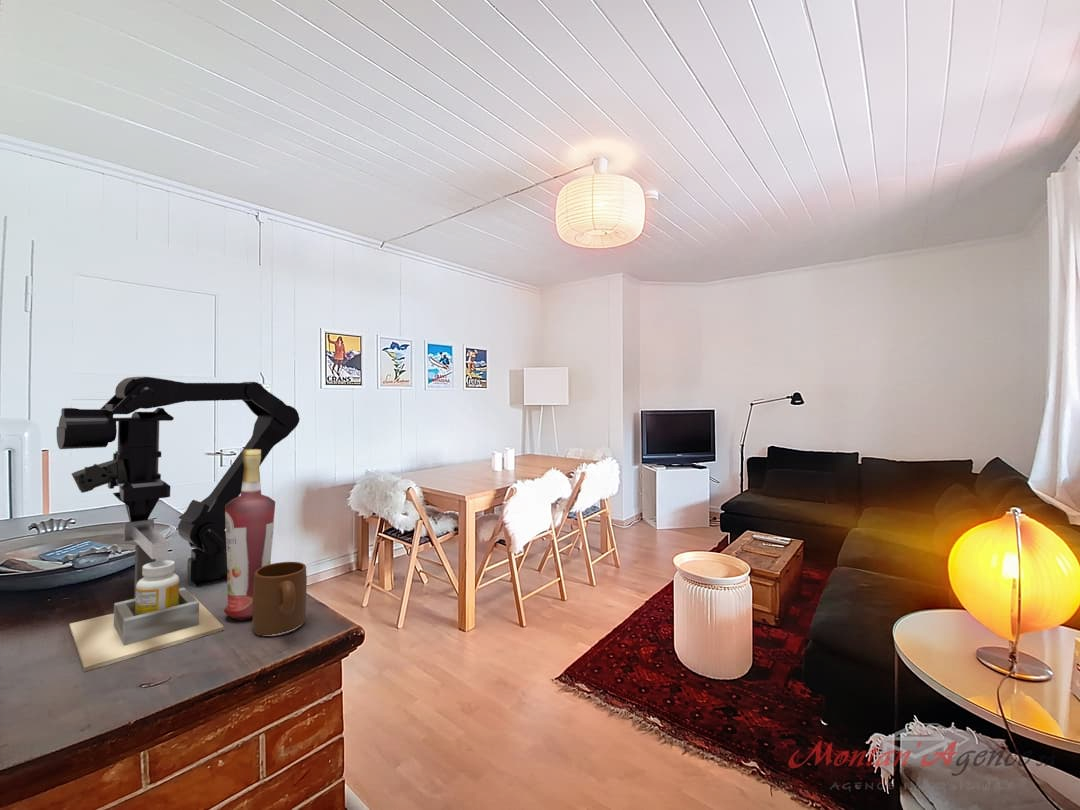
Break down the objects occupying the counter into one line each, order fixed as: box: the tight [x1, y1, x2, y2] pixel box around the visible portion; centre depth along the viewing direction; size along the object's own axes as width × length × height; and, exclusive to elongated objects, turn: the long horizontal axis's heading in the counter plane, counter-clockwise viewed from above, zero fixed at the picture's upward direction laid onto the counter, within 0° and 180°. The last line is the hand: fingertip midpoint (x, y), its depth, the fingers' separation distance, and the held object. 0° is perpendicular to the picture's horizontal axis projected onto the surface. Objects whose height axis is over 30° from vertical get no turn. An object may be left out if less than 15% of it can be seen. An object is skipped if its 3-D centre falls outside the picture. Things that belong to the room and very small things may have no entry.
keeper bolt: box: [123, 518, 169, 560], centre depth 80 cm, size 4×17×3 cm, turn 49°
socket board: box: [69, 544, 225, 673], centre depth 75 cm, size 16×18×11 cm
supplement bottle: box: [135, 559, 180, 616], centre depth 75 cm, size 5×5×10 cm
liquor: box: [223, 449, 276, 621], centre depth 81 cm, size 7×7×28 cm
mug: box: [252, 561, 308, 636], centre depth 75 cm, size 12×8×9 cm, turn 37°
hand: (136, 532), depth 86 cm, fingers closed
